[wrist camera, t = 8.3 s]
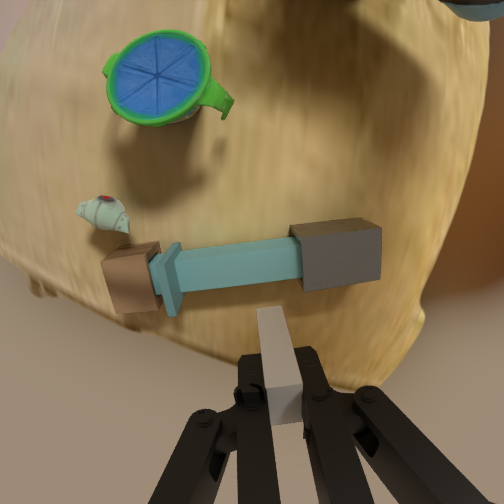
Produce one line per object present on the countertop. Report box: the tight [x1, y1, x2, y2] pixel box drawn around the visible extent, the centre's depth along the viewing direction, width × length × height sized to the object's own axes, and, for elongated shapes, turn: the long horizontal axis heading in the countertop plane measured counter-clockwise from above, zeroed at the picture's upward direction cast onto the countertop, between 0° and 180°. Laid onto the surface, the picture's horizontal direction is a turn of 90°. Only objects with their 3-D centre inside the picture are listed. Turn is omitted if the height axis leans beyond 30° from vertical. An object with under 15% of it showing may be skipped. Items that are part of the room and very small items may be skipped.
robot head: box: [76, 195, 130, 234], centre depth 31 cm, size 8×4×7 cm, turn 69°
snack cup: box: [102, 30, 234, 127], centre depth 25 cm, size 16×10×10 cm
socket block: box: [100, 241, 163, 314], centre depth 34 cm, size 7×6×6 cm
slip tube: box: [148, 236, 302, 317], centre depth 33 cm, size 6×24×9 cm, turn 97°
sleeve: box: [290, 218, 382, 292], centre depth 34 cm, size 7×10×6 cm, turn 97°
